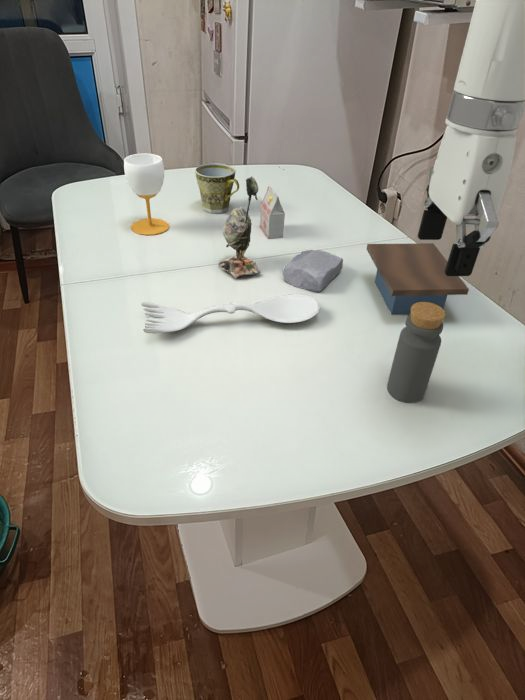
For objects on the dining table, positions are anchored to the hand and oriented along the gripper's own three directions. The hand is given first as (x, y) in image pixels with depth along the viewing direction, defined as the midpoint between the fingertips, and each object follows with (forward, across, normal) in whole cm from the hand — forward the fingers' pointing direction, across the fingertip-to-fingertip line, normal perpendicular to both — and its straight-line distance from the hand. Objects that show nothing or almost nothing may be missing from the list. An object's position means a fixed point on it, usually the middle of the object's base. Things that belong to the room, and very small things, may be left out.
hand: (442, 255), depth 65 cm
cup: (+24, +60, +43) cm, 78 cm away
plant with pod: (+24, +40, +24) cm, 52 cm away
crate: (+23, +27, -10) cm, 37 cm away
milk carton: (+24, +57, +14) cm, 64 cm away
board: (+17, +27, -10) cm, 34 cm away
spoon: (+24, +20, +25) cm, 40 cm away
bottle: (+24, 0, -1) cm, 24 cm away
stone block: (+24, +36, +8) cm, 44 cm away
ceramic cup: (+24, +70, +26) cm, 79 cm away
